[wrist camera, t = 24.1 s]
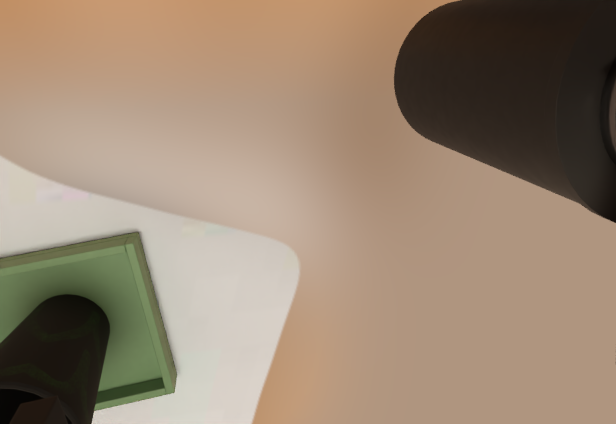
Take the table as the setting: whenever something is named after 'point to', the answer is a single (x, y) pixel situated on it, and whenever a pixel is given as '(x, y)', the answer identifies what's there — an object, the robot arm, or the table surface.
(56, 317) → the cup
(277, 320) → the table surface
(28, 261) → the green tray
